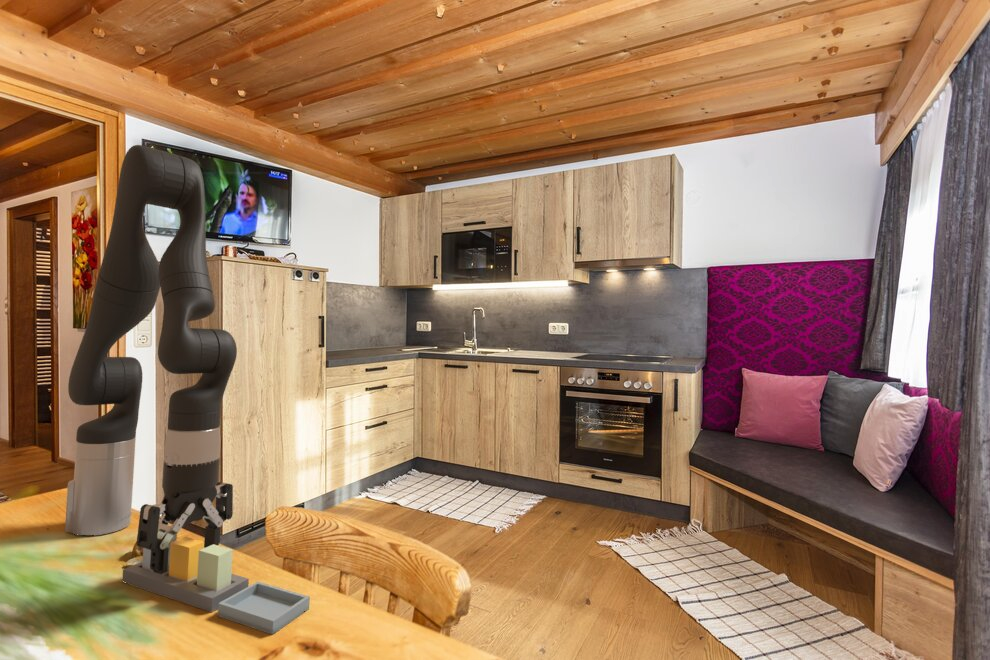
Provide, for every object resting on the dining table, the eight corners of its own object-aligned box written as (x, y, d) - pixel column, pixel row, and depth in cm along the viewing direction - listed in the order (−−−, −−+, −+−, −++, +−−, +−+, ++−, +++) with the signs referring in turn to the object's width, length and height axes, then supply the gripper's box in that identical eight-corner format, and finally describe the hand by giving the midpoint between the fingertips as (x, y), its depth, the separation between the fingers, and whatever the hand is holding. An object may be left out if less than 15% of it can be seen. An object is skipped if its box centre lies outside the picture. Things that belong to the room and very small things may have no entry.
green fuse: (196, 597, 76) (198, 550, 76) (210, 589, 78) (213, 544, 78) (215, 603, 74) (218, 556, 74) (230, 595, 77) (232, 549, 77)
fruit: (128, 573, 82) (129, 551, 82) (120, 555, 88) (121, 534, 88) (186, 559, 88) (187, 538, 88) (175, 543, 94) (176, 523, 94)
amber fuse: (168, 587, 78) (170, 542, 78) (183, 580, 80) (185, 536, 80) (186, 593, 76) (189, 547, 76) (201, 586, 79) (204, 541, 79)
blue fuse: (141, 579, 80) (144, 535, 80) (156, 572, 82) (159, 529, 82) (159, 584, 78) (161, 540, 79) (174, 577, 81) (176, 534, 81)
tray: (217, 616, 71) (218, 603, 71) (256, 593, 78) (257, 581, 78) (272, 634, 68) (273, 621, 68) (309, 608, 74) (309, 596, 74)
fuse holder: (122, 582, 79) (122, 569, 79) (161, 565, 85) (162, 553, 85) (211, 612, 72) (212, 598, 72) (248, 591, 78) (248, 578, 78)
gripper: (214, 444, 86) (209, 539, 86) (129, 463, 73) (122, 574, 73) (248, 450, 84) (242, 548, 84) (165, 470, 70) (158, 586, 70)
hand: (186, 560), depth 78 cm, fingers open, 8 cm apart
